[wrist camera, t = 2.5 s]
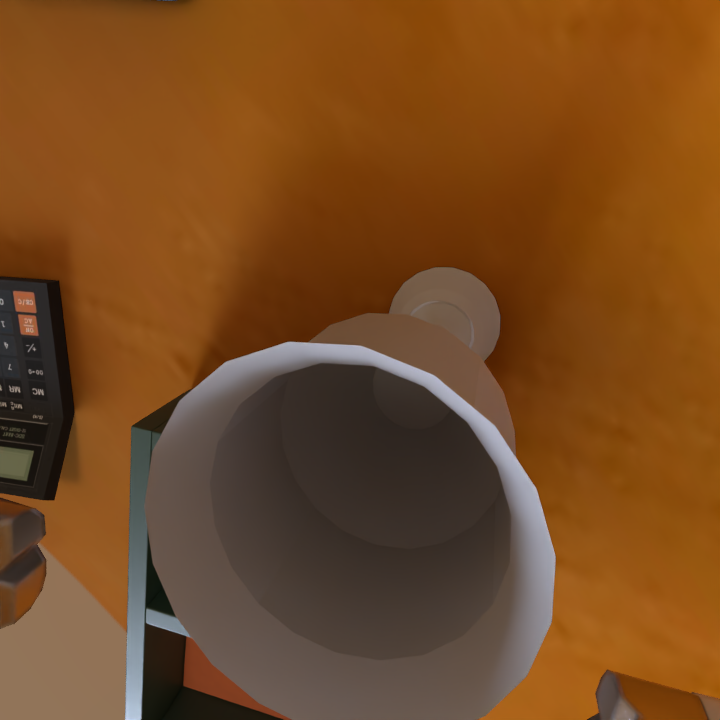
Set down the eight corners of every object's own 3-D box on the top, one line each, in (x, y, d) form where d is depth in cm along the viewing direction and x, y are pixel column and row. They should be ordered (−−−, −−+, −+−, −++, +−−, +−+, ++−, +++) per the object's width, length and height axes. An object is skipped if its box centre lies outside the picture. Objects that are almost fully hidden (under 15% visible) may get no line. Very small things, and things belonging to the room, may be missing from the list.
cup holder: (384, 434, 28) (361, 483, 24) (333, 737, 34) (306, 824, 30) (189, 388, 30) (131, 425, 25) (173, 683, 36) (123, 757, 32)
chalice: (529, 393, 26) (577, 757, 9) (383, 406, 28) (201, 730, 11) (511, 229, 24) (529, 311, 8) (357, 254, 26) (94, 366, 9)
